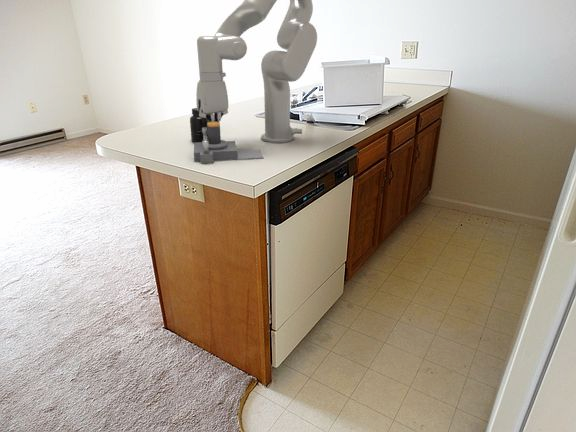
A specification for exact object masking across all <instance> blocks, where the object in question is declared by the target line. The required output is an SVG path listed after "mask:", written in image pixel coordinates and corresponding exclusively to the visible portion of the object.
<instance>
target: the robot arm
mask: <svg viewBox="0 0 576 432" xmlns="http://www.w3.org/2000/svg"><path fill="white" fill-rule="evenodd" d="M277 1H278V0H243V2H242V3H241V4H240V5H239V6H237V7H236V8H235V10H234V11H232V13H231V14H230V15H228V16H227V17H226V19H225V20H224V21H223V22H222V23H221V25H220V27H219V28H218V29H217V31H216V33H215V34H214V35H202V36H198V38H196V39H197V40H196V46H197V49H196V50H197V60H198V61H197V62H198V74H199V80H200V82H199V81H197V84H196V93H195V94H196V95H195V96H196V108H197V111H199V117H203V118H206V119H207V120H208V121H209V122H213V121H216V122H221V121H222V120H221V119H222V118H223V116H225V115H228V113H229V98H228V96H229V95H228V90H227V85H226V81H225V80H224V77H226V76H227V75H226V72H224V71H223V60H228V61H239V60H242V59H243V58H244V57H245V56H246V54H247V50H248V46H247V43H246V41H245V39H243V38H242V37H241V36H242V35H243V34H244V33H245V32H247V31H248V30H249V29H252V28H253V27H255V26H257V25H259V24H261V23H262V22H263V21H265V19H267V17H268V15H269V14H270V12H271V10H272V9H273V7H274V5H275V4H276V2H277ZM313 11H314V5H313V0H289V6H288V8H287V11H286V14H285V15H284V18H283V21H282V23H281V25H280V27H279V29H278V31H277V36H276V43H277V45H278V46H279V47H280V48H281V49H282V50H270V51H268V52H266V53H265V54H264V56H263V57H262V59H261V65H260V67H261V74H262V79H263V88H264V89H263V92H264V98H263V99H264V100H263V101H264V102H263V103H264V133H262V134H261V136H260V140H262V141H263V142H266V143H273V144H277V143H279V144H280V143H281V144H282V143H288V142H292V141H293V140H294V137H295V134H296V135H300V134H301V135H302V134H303V128H298V127H294V128H293V127H291V88H290V84H289V83H291V82H292V83H293V82H296V81H298V80H299V79H300V78H302V76H303V75H304V73H305V71H306V68H307V67H308V65H309V62H310V60H311V58H312V55H313V54H314V51H315V49H316V46H317V43H318V32H317V29H316V27H315V26H314V24H312V23H310V20H311V18H312V15H313Z"/></svg>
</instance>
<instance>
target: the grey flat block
mask: <svg viewBox="0 0 576 432" xmlns="http://www.w3.org/2000/svg"><path fill="white" fill-rule="evenodd" d="M225 141H226V140H225ZM226 142H227V146H226V147H224V148H221V149H209V153H203V142H198V143H195V142H193V160H194V163H195V162H196V163H197V162H200V164H201V165H203V164H206V165H207V164H214V161H232V160H235V161H237V160H236V158H238V152H237V151H238V148H237V144H236V141H235V140H227V141H226Z"/></svg>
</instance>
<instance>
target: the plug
mask: <svg viewBox="0 0 576 432" xmlns="http://www.w3.org/2000/svg"><path fill="white" fill-rule="evenodd" d="M220 122H221V121H219V122H216V121H213V122H208V123H207V126H208V139H209V140H208V144H209V149H221V148H224V147H226V146H227V142H226V140H223V139H222V137H221V126H220V124H221V123H220Z"/></svg>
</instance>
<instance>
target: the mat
mask: <svg viewBox="0 0 576 432" xmlns="http://www.w3.org/2000/svg"><path fill="white" fill-rule="evenodd" d="M237 152H238V158H236V160H235V161H243V160H260V159H261V160H262V159H264V155H263V153H262V151H261V149H246V150H237Z"/></svg>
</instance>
